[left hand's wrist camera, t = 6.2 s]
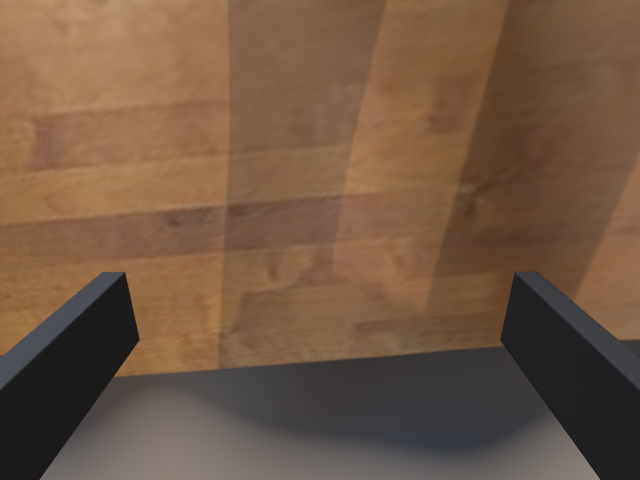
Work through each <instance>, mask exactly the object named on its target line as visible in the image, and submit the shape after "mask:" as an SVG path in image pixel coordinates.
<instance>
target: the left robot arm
mask: <svg viewBox="0 0 640 480" xmlns="http://www.w3.org/2000/svg"><path fill="white" fill-rule="evenodd" d="M139 340H140V339H139V335H138V330H137V325H136V321H135V316H134V311H133V307H132V302H131V297H130V292H129V288H128V283H127V278H126V274H125V272H102V273H101V274H100V275H98V276H97V277H96V278H95V279H94V280H92V281H91V282H90V283H89V284H88V285H86V286H85V287H84V288H83V289H82V290H81V291H79V292H78V293H77V294H76V295H75V296H73V297H72V298H71V299H70V300H69V301H67V302H66V303H65V304H64V305H63V306H62V307H60V308H59V309H58V310H57V311H56V312H54V313H53V314H52V315H51V316H50V317H48V318H47V319H46V320H45V321H44V322H43V323H41V324H40V325H39V326H38V327H37V328H35V329H34V330H33V331H32V332H31V333H29V334H28V335H27V336H26V337H25V338H24V339H22V340H21V341H20V342H19V343H18V344H16V345H15V346H14V347H13V348H12V349H10V350H9V351H8V352H7V353H6V354H5V355H3V356H0V480H39V479H40V478H41V477H42V475H43V474H44V473H45V471H46V470H47V468H48V467H49V466H50V464H51V463H52V461H53V460H54V459H55V457H56V456H57V454H58V453H59V452H60V450H61V449H62V447H63V446H64V445H65V443H66V442H67V441H68V439H69V438H70V436H71V435H72V434H73V432H74V431H75V429H76V428H77V427H78V425H79V424H80V422H81V421H82V420H83V418H84V417H85V415H86V414H87V413H88V411H89V410H90V408H91V407H92V406H93V404H94V403H95V402H96V400H97V399H98V397H99V396H100V395H101V393H102V392H103V390H104V389H105V388H106V386H107V385H108V383H109V382H110V381H111V379H112V378H113V376H114V375H115V374H116V372H117V371H118V369H119V368H120V367H121V365H122V364H123V363H124V361H125V360H126V358H127V357H128V356H129V354H130V353H131V351H132V350H133V349H134V347H135V346H136V344H137V343H138V342H139ZM500 340H501V342H502V343H503V344H504V346H505V347H506V349H507V350H508V351H509V353H510V354H511V356H512V357H513V358H514V360H515V361H516V363H517V364H518V365H519V367H520V368H521V369H522V371H523V372H524V374H525V375H526V376H527V378H528V379H529V381H530V382H531V383H532V385H533V386H534V388H535V389H536V390H537V392H538V393H539V395H540V396H541V397H542V399H543V400H544V402H545V403H546V404H547V406H548V407H549V408H550V410H551V411H552V413H553V414H554V415H555V417H556V418H557V420H558V421H559V422H560V424H561V425H562V427H563V428H564V429H565V431H566V432H567V434H568V435H569V436H570V438H571V439H572V440H573V442H574V443H575V445H576V446H577V447H578V449H579V450H580V452H581V453H582V454H583V456H584V457H585V459H586V460H587V461H588V463H589V464H590V466H591V467H592V468H593V470H594V471H595V473H596V474H597V475H598V477H599V478H600V480H640V354H634V353H633V352H632V351H631V350H630V349H628V348H627V347H626V346H625V345H624V344H622V343H621V342H620V341H619V340H618V339H616V338H615V337H614V336H613V335H612V334H611V333H609V332H608V331H607V330H606V329H605V328H603V327H602V326H601V325H600V324H599V323H597V322H596V321H595V320H594V319H593V318H592V317H590V316H589V315H588V314H587V313H586V312H584V311H583V310H582V309H581V308H580V307H578V306H577V305H576V304H575V303H574V302H573V301H571V300H570V299H569V298H568V297H567V296H565V295H564V294H563V293H562V292H561V291H559V290H558V289H557V288H556V287H555V286H554V285H552V284H551V283H550V282H549V281H548V280H546V279H545V278H544V277H543V276H542V275H540V274H539V273H538V272H515V274H514V278H513V283H512V288H511V292H510V297H509V302H508V307H507V311H506V316H505V321H504V325H503V330H502V335H501V339H500Z"/></svg>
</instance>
